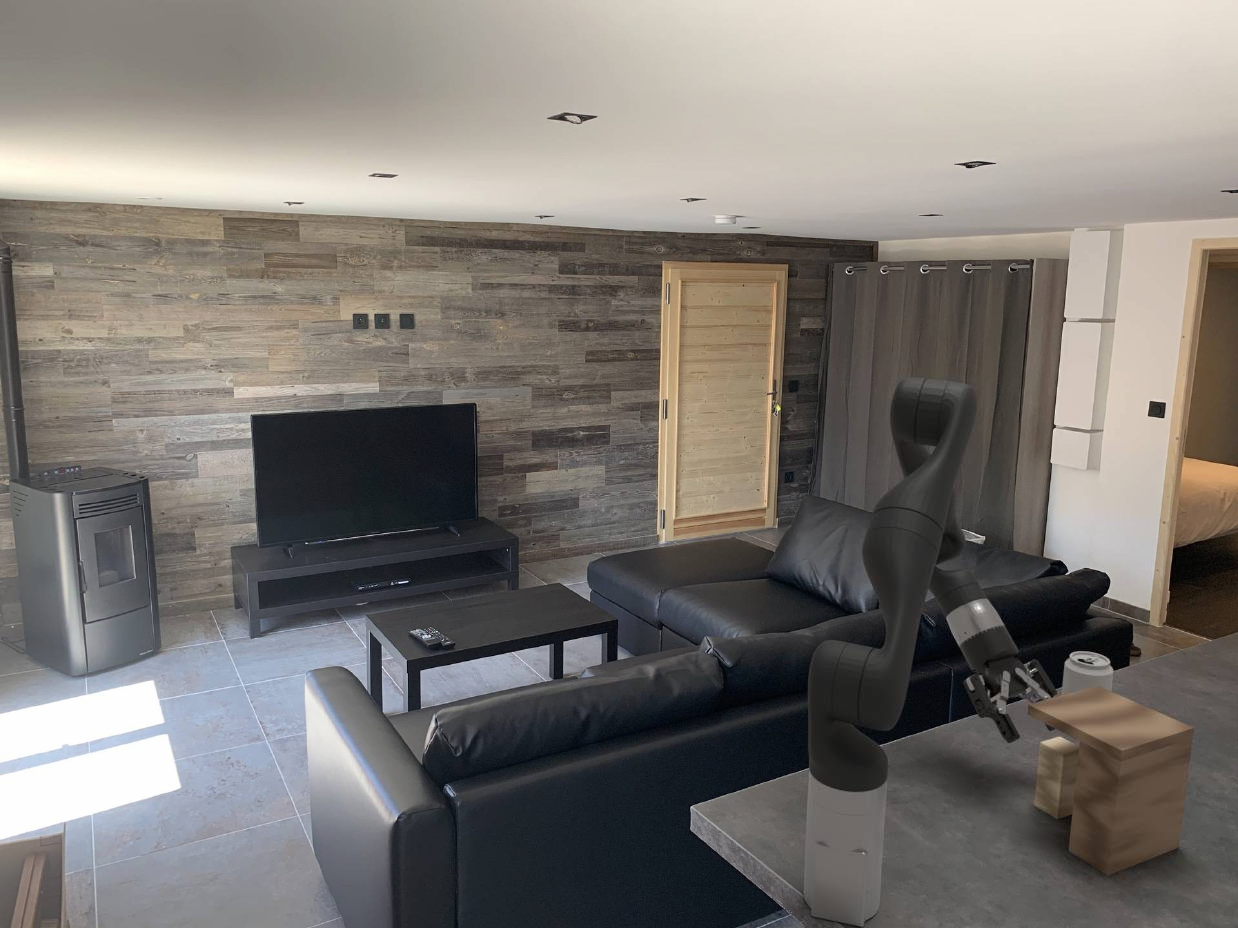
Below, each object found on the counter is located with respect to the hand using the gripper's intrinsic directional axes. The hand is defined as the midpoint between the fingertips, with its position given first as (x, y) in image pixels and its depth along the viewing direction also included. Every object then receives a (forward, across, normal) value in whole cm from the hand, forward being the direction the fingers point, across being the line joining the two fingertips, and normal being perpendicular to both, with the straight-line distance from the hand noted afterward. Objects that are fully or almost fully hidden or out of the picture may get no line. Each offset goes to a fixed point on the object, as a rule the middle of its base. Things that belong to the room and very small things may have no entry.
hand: (1035, 734), depth 142 cm
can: (-2, +27, +16) cm, 31 cm away
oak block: (+10, 0, +4) cm, 11 cm away
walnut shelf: (+15, 0, -1) cm, 15 cm away
